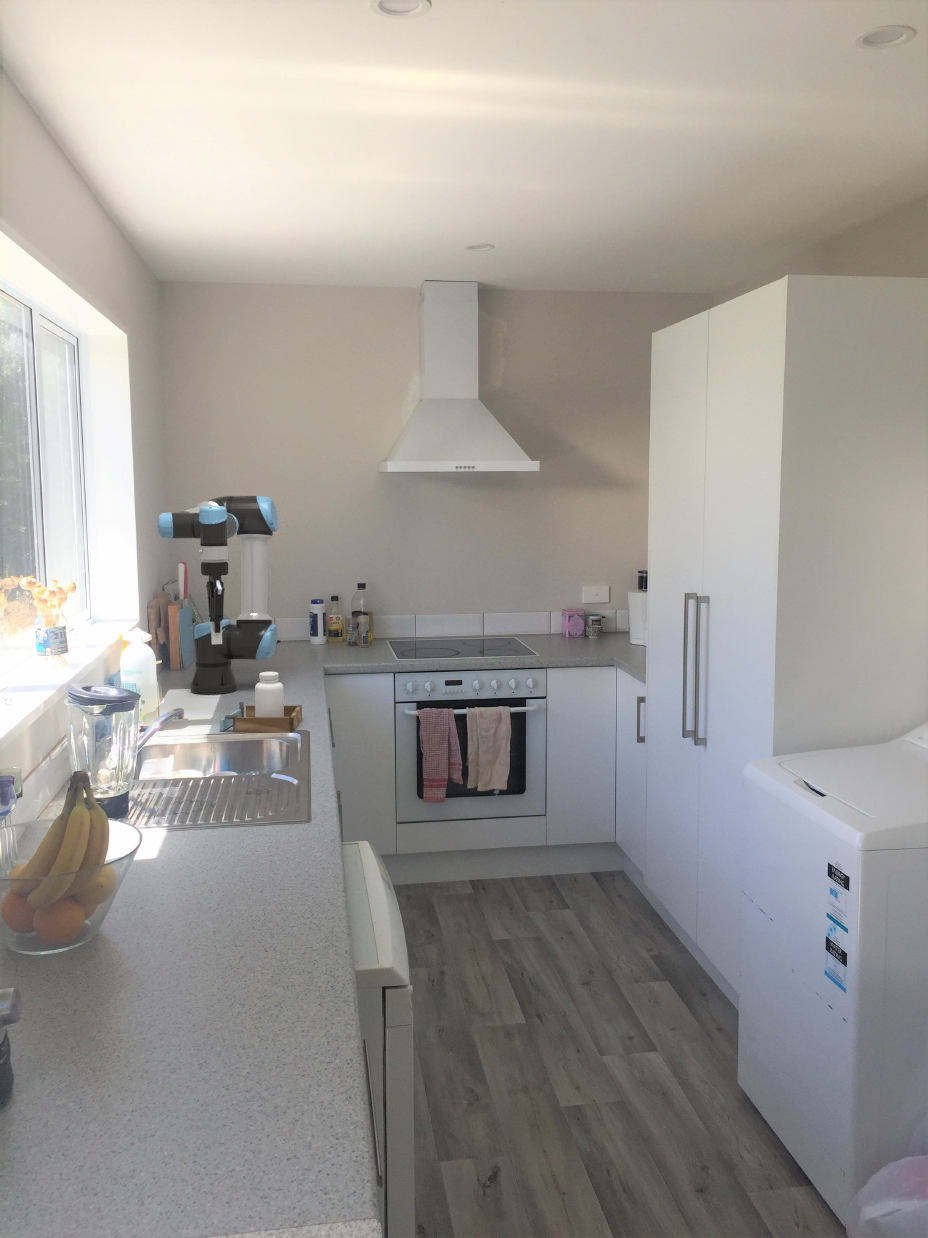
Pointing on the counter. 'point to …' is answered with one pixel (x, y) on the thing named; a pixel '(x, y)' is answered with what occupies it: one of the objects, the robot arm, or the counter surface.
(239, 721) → the tray
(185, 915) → the counter surface
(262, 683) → the pill bottle
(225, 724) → the gate
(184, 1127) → the counter surface
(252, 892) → the counter surface
